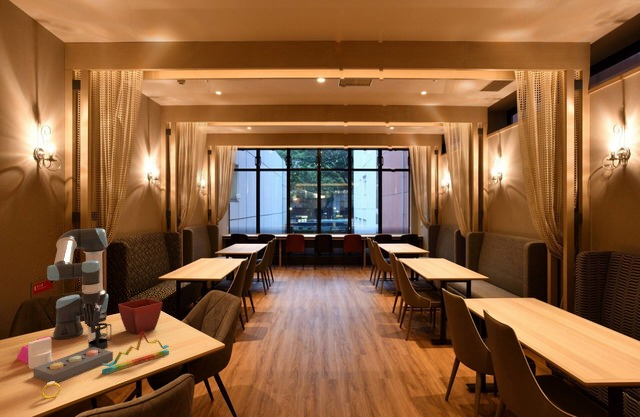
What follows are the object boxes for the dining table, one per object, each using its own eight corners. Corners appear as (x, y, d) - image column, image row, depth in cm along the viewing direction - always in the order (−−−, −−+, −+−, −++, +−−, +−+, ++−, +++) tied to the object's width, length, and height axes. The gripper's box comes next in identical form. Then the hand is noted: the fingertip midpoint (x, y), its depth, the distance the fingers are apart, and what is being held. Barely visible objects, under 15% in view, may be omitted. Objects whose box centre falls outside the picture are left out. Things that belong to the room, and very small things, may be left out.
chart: (104, 375, 163) (104, 342, 163) (102, 373, 166) (101, 341, 165) (169, 354, 186) (169, 325, 186) (166, 352, 188) (166, 324, 188)
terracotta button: (83, 358, 177) (83, 352, 177) (93, 355, 181) (93, 349, 181) (90, 360, 175) (89, 354, 175) (100, 356, 179) (100, 350, 179)
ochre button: (47, 372, 162) (47, 365, 162) (59, 367, 167) (59, 361, 167) (53, 374, 160) (53, 367, 160) (65, 369, 165) (65, 363, 165)
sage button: (66, 365, 170) (66, 359, 170) (77, 361, 174) (77, 355, 174) (72, 367, 168) (72, 360, 167) (83, 363, 172) (83, 356, 172)
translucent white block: (33, 370, 169) (32, 345, 169) (25, 366, 174) (24, 341, 174) (55, 363, 177) (54, 339, 176) (47, 359, 181) (46, 335, 181)
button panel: (33, 376, 162) (33, 368, 162) (93, 354, 186) (93, 346, 186) (53, 384, 155) (53, 374, 155) (112, 359, 180) (112, 351, 179)
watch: (41, 401, 142) (40, 386, 142) (43, 398, 144) (41, 383, 144) (60, 396, 145) (58, 381, 145) (61, 393, 147) (59, 379, 147)
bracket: (51, 356, 185) (51, 336, 185) (27, 363, 176) (27, 343, 176) (40, 351, 191) (40, 332, 191) (16, 358, 182) (16, 338, 182)
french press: (85, 352, 189) (84, 309, 189) (87, 346, 198) (86, 305, 198) (111, 348, 195) (110, 306, 195) (111, 342, 203) (111, 302, 203)
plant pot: (147, 322, 237) (147, 297, 237) (163, 328, 226) (163, 301, 226) (117, 331, 222) (117, 304, 222) (133, 337, 211) (132, 309, 211)
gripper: (75, 292, 177) (76, 339, 178) (91, 295, 172) (92, 343, 172) (90, 288, 184) (91, 334, 185) (106, 291, 178) (107, 338, 179)
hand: (91, 338), depth 178 cm, fingers closed
